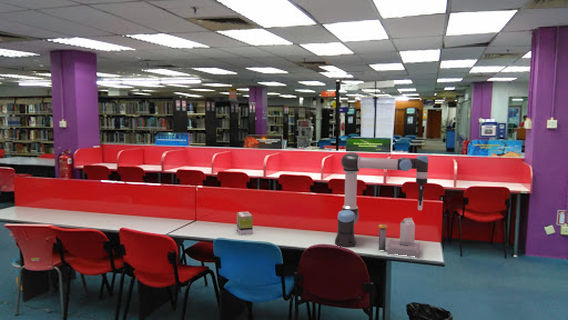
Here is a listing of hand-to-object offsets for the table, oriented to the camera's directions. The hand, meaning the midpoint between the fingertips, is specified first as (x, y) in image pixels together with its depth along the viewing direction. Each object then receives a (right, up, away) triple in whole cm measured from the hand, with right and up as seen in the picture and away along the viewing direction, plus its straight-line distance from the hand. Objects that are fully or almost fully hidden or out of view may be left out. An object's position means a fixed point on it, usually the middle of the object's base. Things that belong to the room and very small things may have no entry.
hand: (420, 208), depth 270 cm
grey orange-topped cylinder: (-28, -28, -5) cm, 40 cm away
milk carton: (-6, -27, +10) cm, 30 cm away
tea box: (-126, -23, +35) cm, 133 cm away
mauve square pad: (-14, -29, -8) cm, 33 cm away
